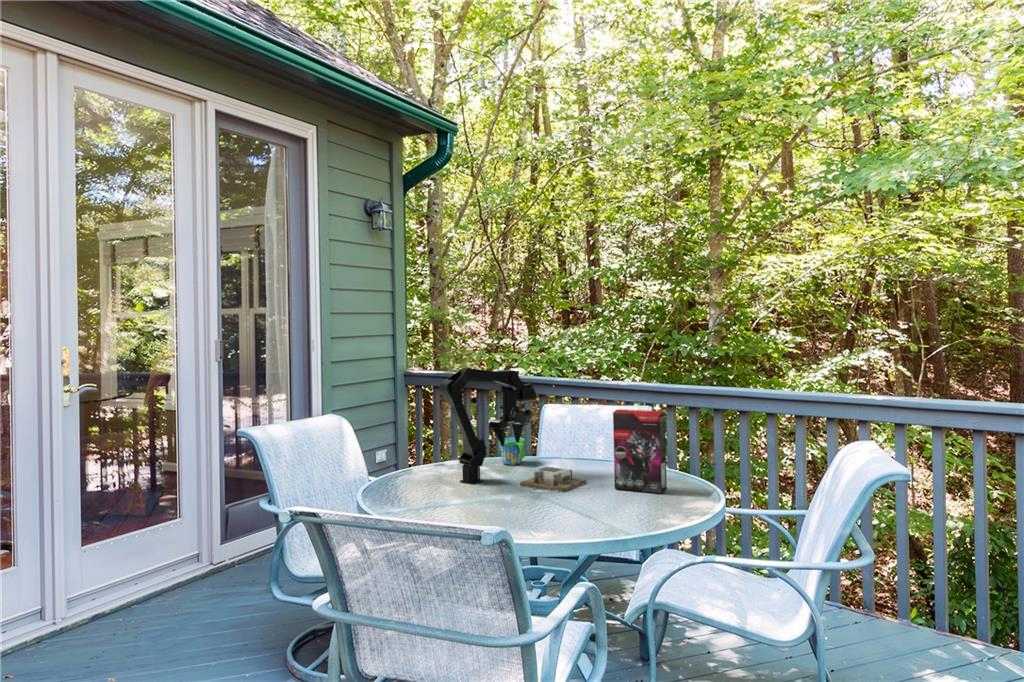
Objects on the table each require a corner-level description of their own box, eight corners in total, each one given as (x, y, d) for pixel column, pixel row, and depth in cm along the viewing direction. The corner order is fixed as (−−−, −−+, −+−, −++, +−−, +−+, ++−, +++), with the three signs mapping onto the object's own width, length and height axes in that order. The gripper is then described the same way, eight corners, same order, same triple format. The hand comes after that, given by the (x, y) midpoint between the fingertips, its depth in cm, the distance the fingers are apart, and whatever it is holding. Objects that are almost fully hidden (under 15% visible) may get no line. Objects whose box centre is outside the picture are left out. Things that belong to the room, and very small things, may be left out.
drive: (562, 484, 250) (561, 472, 250) (535, 480, 257) (534, 469, 257) (571, 481, 255) (571, 469, 255) (545, 477, 262) (544, 466, 262)
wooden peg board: (563, 491, 244) (562, 478, 244) (520, 485, 255) (519, 472, 255) (586, 482, 257) (586, 469, 257) (544, 477, 268) (544, 464, 268)
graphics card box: (612, 490, 246) (611, 410, 245) (619, 485, 252) (618, 408, 251) (661, 494, 238) (660, 413, 237) (667, 490, 244) (666, 410, 243)
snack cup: (532, 465, 289) (532, 440, 289) (509, 468, 284) (509, 443, 284) (514, 459, 303) (514, 435, 303) (492, 462, 298) (491, 437, 298)
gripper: (511, 407, 259) (512, 450, 259) (541, 401, 274) (541, 442, 274) (487, 405, 265) (488, 447, 266) (517, 400, 280) (518, 440, 281)
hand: (510, 444), depth 272 cm, fingers open, 9 cm apart
